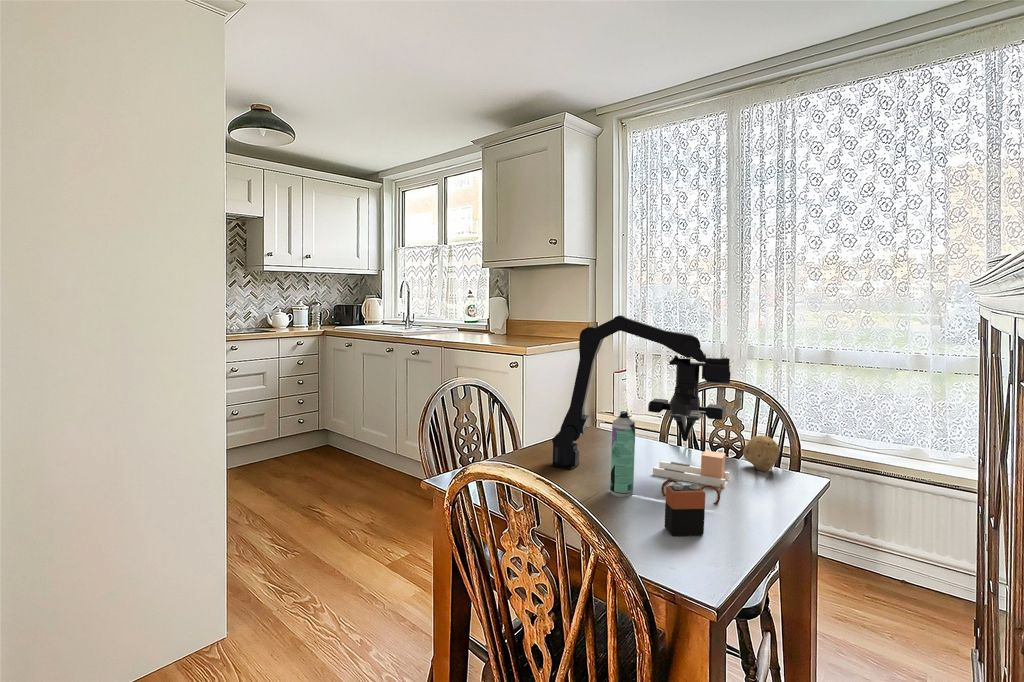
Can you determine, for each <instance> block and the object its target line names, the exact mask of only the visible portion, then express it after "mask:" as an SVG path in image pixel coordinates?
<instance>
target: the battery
mask: <svg viewBox="0 0 1024 682" xmlns="http://www.w3.org/2000/svg"><path fill="white" fill-rule="evenodd" d="M671 483H672V485H670V484H669V485H666V486H665V495H666V496H665V500H664V501H665V502H664V505H665V506H664V507H665V508H664V528H665V530H666V531H667V532H668V533H669V534H670V535H671V536H672V537H687V536H688V537H689V536H690V537H691V536H694V537H695V536H703V535H704V534H705V514H706V513H705V511H706V510H705V509H706V492H705V490H704V489H703V490H702V489H701V487H699V483H695V482H691V483H690V484H685V485H684V484H683V483H682V482H678V483H673V482H671Z"/></svg>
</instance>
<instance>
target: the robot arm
mask: <svg viewBox="0 0 1024 682" xmlns="http://www.w3.org/2000/svg"><path fill="white" fill-rule="evenodd" d="M617 332H623V333H627V334H630V335H633V336H636V337H638V338H641V339H645V340H648V341H651V342H654V343H657V344H660V345H662V346H664V347H666V348H667V349H669V350H671V351H672V352H675V353H676V354H679V355H680V356H683V357H684V358H683V357H682V358H681V357H679V356H678V355H676V354H675V355H674V356H673V358H672V359H670V360H669V361H668V362H669V363H668V364H669V365H670V366H676V367H675V369H676V371H675V386H674V393H673V395H672V396H671V397H672V398H671V399H670V401H669V400H668V399H664V398H654V399H652V400H650V401H649V403H648V406H647V409H648V412H649V413H657V414H660V413H661V412H663V410H664V411H670V414H669V417H670V418H672V419H674V420H675V421H676V424H677V426H678V429H679V432H680V436H681V438H682V441H683V442H687V441H688V440H689V437H690V435H691V433H692V430H693V428H694V425H695V424H696V421H699V420H701V419H702V418H703V415H705V416H706V417H707V419H709V420H719V421H722V420H724V419H725V417H726V414H727V413H726V411H727V410H726V409H727V408H726V407H725V406H724V405H723V404H713V403H712V404H711V403H709V404H708V405H707V406H701V400H700V397H699V390H700V367H701V379H702V380H704V381H705V384H713V385H730V383H731V370H730V369H731V368H730V366H731V365H730V358H729V357H707V354H706V353H704V351H703V350H702V348H701V341H700V340H699V338H698V337H697V336H696V335H694V334H692V333H688V332H680V331H672V330H666V329H662V328H660V327H656V326H653V325H651V324H647V323H643V322H641V321H638V320H635V319H631V318H628V317H626V316H625V315H616V316H615V317H613V318H612V319H610V320H608V321H606V322H604V323H602V324H600V325H598V326H597V325H596V326H595V325H592V326H587V327H585V328H583V329H582V330H581V331H580V334H579V337H578V339H579V340H578V343H579V345H578V352H579V361H578V367H577V371H576V375H575V381H574V386H573V390H572V393H571V400H570V405H569V408H568V410H567V412H566V414H565V416H564V419H563V420H562V423H561V426H560V429H559V431H558V432H557V433H556V434H555V436H553V438H552V439H551V441H552V462H551V463H549V465H550V467H555V468H560V469H565V470H572V469H574V468H576V467H577V466H578V465H580V462H579V461H580V449H578V443H575V442H576V441H577V440H579V439H580V437H581V435H584V433H585V432H586V431H587V429H588V421H589V419H590V415H589V414H586V411H585V408H586V403H587V398H588V392H589V389H590V384H591V383H590V382H591V378H592V374H593V373H592V372H593V369H594V364H595V361H596V357H597V356H598V354H599V352H600V349H601V347H602V344H603V341H604V339H605V338H607V337H609V336H612V335H613V334H615V333H617ZM691 358H692V359H694V361H697V362H694V361H691Z"/></svg>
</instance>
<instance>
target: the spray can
mask: <svg viewBox="0 0 1024 682" xmlns="http://www.w3.org/2000/svg"><path fill="white" fill-rule="evenodd" d="M611 426H612V427H611V454H610V455H611V456H610V457H611V458H610V483H609V485H610V486H609V487H610V488H609V489H610V490H609V492H610V494H611V495H613V496H615V497H619V498H627V497H628V498H629V497H632V496H633V495H634V482H635V481H634V479H635V477H634V474H635V451H636V450H635V448H636V422H635V421H634V420H632V419H631V416H630V415H629V413H628V411H625V410H624V411H620V414H619V416H617V418H616V419H614V420H612V425H611Z"/></svg>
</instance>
